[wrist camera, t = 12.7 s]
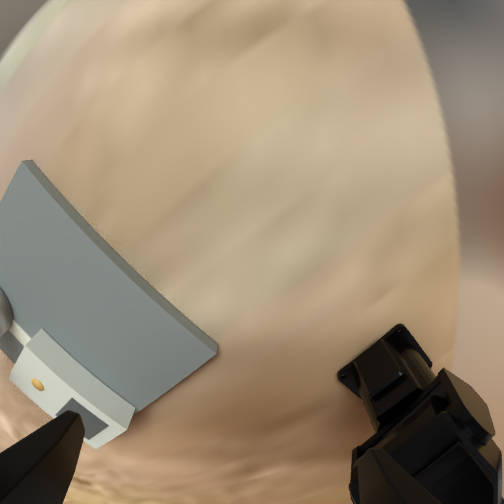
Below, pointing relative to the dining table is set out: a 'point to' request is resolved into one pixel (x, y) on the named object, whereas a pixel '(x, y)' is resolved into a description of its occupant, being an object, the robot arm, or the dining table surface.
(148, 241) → the dining table surface
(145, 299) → the subfloor panel
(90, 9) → the dining table surface
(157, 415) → the dining table surface
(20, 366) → the block
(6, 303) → the joystick
